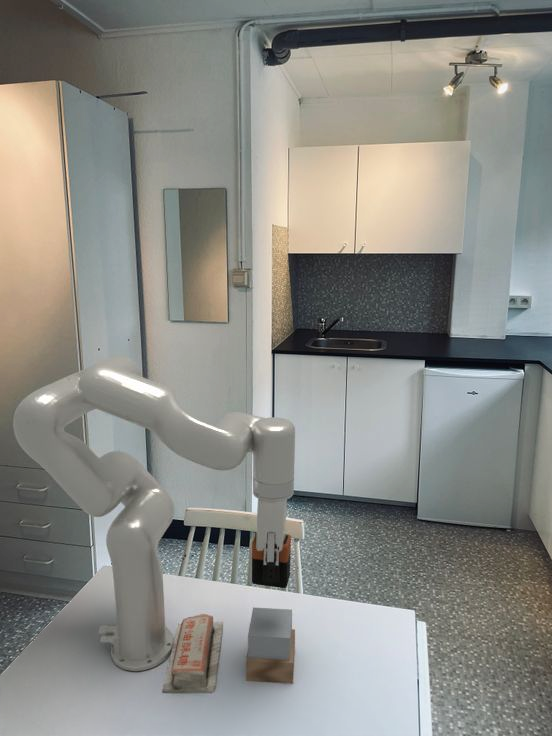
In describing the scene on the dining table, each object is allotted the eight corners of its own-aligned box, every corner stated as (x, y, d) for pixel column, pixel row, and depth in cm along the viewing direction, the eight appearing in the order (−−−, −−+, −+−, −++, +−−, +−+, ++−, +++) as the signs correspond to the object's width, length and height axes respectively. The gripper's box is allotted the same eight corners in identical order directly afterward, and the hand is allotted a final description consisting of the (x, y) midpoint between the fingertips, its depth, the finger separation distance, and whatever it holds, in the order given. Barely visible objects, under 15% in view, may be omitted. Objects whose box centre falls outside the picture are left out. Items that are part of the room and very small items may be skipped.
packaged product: (215, 673, 99) (161, 673, 99) (215, 695, 100) (162, 695, 100) (223, 608, 117) (177, 608, 117) (223, 627, 118) (178, 627, 118)
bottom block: (246, 681, 103) (246, 660, 102) (251, 647, 112) (251, 627, 111) (292, 684, 103) (293, 662, 101) (294, 650, 111) (295, 629, 110)
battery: (286, 589, 100) (287, 542, 98) (251, 585, 101) (251, 537, 99) (290, 575, 104) (291, 529, 102) (256, 571, 105) (256, 525, 103)
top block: (248, 657, 103) (248, 635, 102) (253, 628, 110) (253, 607, 109) (289, 660, 102) (290, 638, 101) (291, 630, 110) (292, 609, 109)
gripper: (256, 465, 106) (255, 547, 111) (248, 506, 90) (248, 601, 94) (294, 466, 106) (291, 548, 110) (293, 508, 90) (290, 602, 94)
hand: (271, 571), depth 102 cm, fingers closed on battery, 4 cm apart
